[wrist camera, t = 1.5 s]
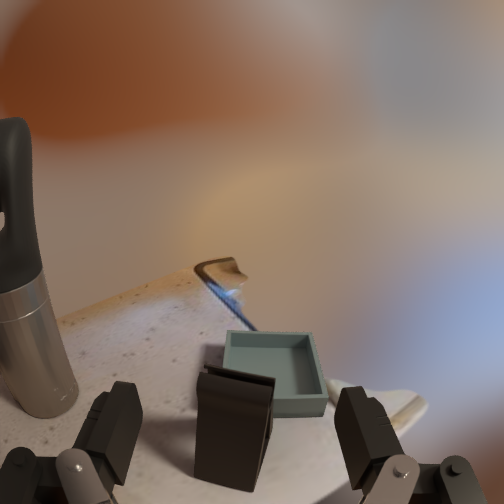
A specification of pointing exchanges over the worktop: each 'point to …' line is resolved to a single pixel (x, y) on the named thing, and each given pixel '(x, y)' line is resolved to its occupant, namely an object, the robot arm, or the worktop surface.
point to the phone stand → (232, 426)
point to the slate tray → (281, 368)
